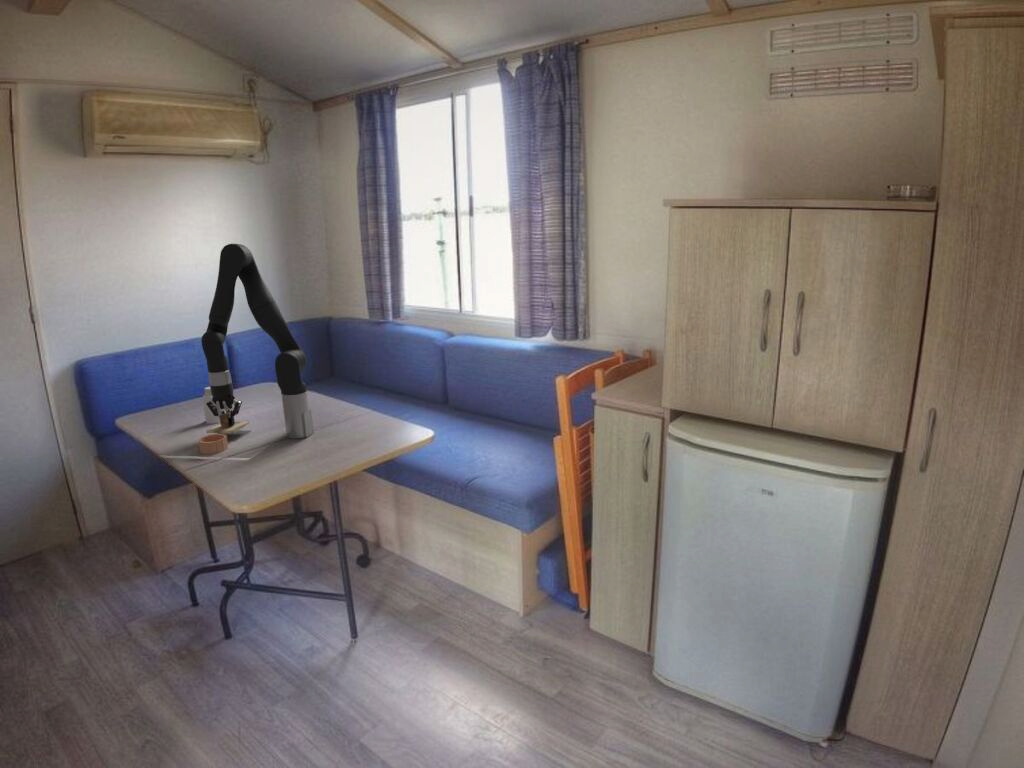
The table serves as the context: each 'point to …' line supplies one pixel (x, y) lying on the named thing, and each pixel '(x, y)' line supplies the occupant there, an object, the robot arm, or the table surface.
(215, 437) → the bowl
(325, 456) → the table surface
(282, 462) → the table surface
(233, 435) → the mat
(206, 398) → the pill bottle
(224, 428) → the lid
